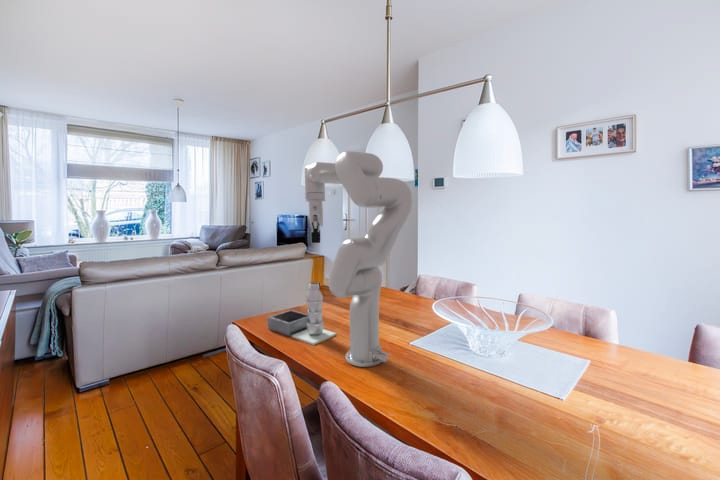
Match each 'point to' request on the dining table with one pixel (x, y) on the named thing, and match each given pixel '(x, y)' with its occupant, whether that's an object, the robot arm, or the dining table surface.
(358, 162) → the robot arm
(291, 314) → the steel collar
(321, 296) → the plastic bottle
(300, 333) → the mat
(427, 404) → the dining table surface
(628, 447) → the dining table surface
